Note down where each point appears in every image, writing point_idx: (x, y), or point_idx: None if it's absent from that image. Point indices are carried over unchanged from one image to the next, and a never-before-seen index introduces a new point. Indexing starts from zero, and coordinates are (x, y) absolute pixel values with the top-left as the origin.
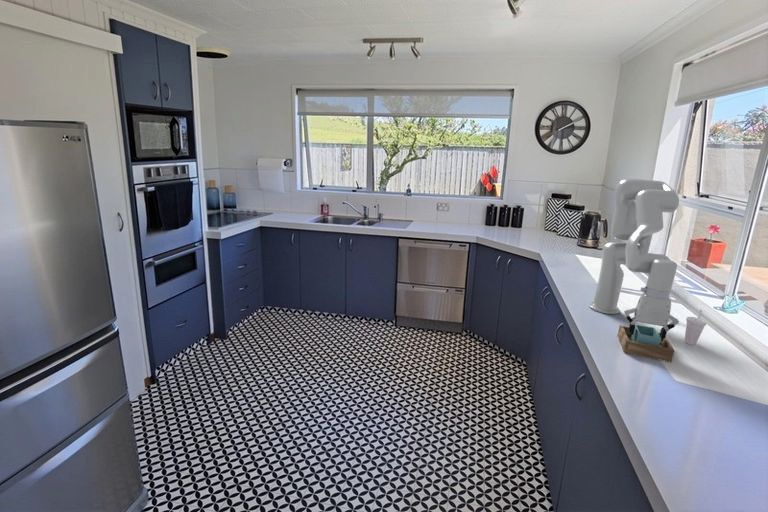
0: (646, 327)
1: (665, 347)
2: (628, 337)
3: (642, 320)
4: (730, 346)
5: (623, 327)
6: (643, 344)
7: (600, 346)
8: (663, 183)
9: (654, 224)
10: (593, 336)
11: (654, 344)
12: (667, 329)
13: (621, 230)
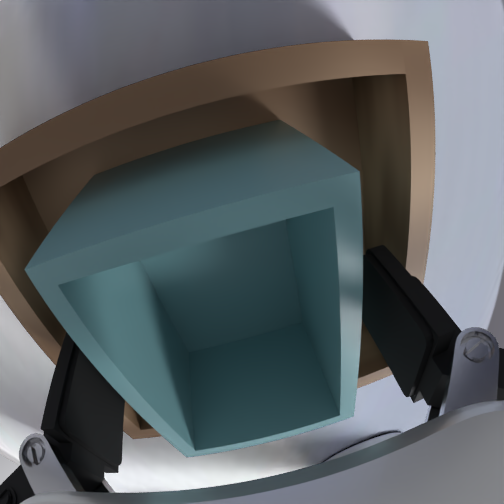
0: (249, 434)
1: None
2: None
3: (453, 463)
4: (8, 449)
5: (384, 363)
6: (239, 54)
7: (478, 69)
8: None
9: None
10: (489, 202)
11: (112, 196)
12: (32, 455)
13: None
